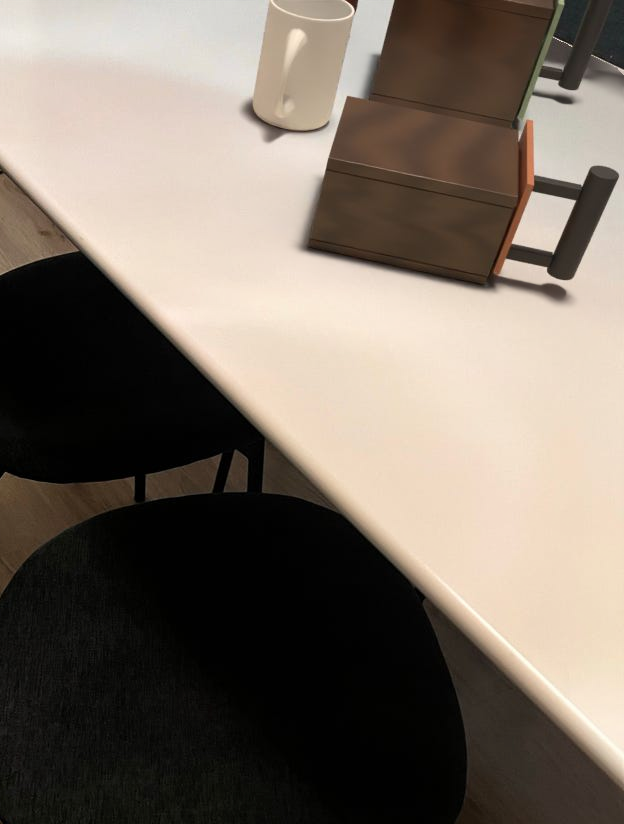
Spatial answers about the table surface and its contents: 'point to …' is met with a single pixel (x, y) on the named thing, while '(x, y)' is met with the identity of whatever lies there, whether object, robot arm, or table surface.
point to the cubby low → (417, 190)
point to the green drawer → (578, 54)
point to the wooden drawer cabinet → (461, 56)
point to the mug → (301, 62)
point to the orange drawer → (579, 222)
